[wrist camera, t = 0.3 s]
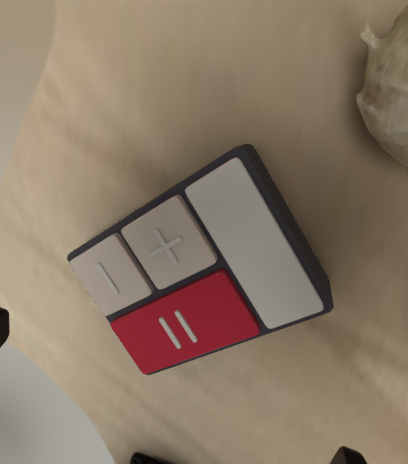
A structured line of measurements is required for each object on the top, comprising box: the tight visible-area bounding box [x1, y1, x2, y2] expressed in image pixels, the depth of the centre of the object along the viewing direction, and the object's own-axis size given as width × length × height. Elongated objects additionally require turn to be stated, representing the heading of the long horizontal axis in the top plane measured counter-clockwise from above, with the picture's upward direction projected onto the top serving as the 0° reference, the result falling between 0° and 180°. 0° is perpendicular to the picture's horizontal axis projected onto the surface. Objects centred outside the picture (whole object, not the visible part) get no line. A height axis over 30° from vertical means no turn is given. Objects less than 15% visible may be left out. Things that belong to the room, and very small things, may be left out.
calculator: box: [67, 144, 333, 375], centre depth 22 cm, size 11×4×15 cm
